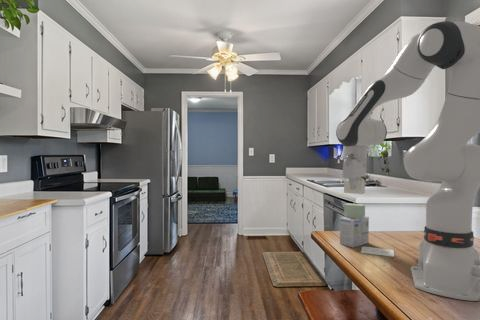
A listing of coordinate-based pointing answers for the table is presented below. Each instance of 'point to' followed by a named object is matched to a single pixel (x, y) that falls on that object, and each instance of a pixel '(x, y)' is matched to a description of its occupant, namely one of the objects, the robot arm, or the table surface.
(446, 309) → the table surface
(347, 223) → the light bulb box
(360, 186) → the brick
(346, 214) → the brick
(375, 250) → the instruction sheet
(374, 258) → the table surface
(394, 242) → the table surface
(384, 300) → the table surface
